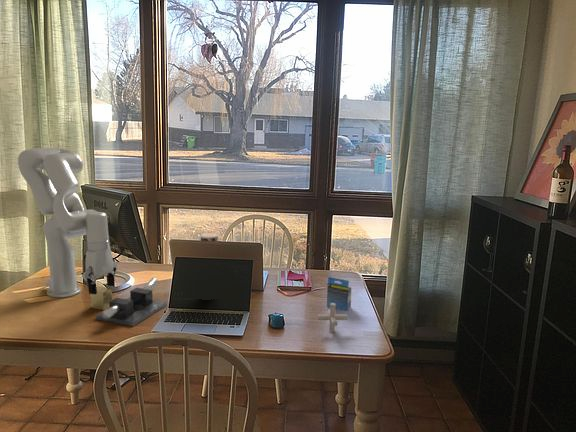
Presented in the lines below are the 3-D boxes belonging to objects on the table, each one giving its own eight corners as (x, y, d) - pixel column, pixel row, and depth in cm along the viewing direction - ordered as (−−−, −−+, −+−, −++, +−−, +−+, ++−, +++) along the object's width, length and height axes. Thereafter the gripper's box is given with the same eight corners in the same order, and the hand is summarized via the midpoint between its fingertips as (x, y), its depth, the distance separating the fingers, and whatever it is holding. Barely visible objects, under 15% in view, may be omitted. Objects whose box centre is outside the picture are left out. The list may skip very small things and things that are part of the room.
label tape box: (351, 307, 185) (352, 277, 182) (347, 311, 181) (348, 280, 179) (330, 303, 189) (331, 273, 186) (326, 306, 185) (327, 276, 183)
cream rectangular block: (104, 310, 177) (102, 292, 176) (91, 307, 179) (90, 290, 178) (112, 305, 181) (111, 288, 180) (99, 303, 183) (98, 286, 182)
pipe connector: (315, 325, 168) (316, 298, 166) (343, 324, 169) (344, 298, 167) (319, 337, 159) (320, 309, 157) (349, 337, 159) (350, 309, 157)
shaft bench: (87, 323, 165) (85, 299, 164) (139, 295, 192) (138, 274, 190) (125, 331, 160) (124, 306, 158) (173, 301, 187) (172, 279, 185)
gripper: (106, 239, 185) (109, 281, 188) (72, 250, 169) (77, 296, 172) (122, 241, 182) (125, 283, 185) (89, 252, 166) (93, 298, 169)
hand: (102, 289), depth 178 cm, fingers open, 9 cm apart
